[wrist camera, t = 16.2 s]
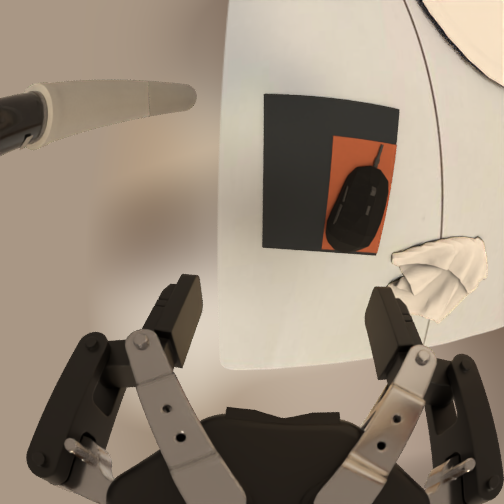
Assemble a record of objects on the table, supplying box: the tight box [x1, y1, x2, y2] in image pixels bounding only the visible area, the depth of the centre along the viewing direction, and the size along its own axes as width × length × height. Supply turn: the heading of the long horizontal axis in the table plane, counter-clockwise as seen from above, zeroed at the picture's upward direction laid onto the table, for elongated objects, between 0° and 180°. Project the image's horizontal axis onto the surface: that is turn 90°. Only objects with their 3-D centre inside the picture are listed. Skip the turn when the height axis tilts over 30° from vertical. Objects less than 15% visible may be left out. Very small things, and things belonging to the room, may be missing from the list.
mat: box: [262, 94, 399, 255], centre depth 31 cm, size 16×20×1 cm
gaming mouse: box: [325, 144, 389, 253], centre depth 30 cm, size 6×15×4 cm, turn 166°
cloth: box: [387, 237, 487, 323], centre depth 35 cm, size 20×22×2 cm
